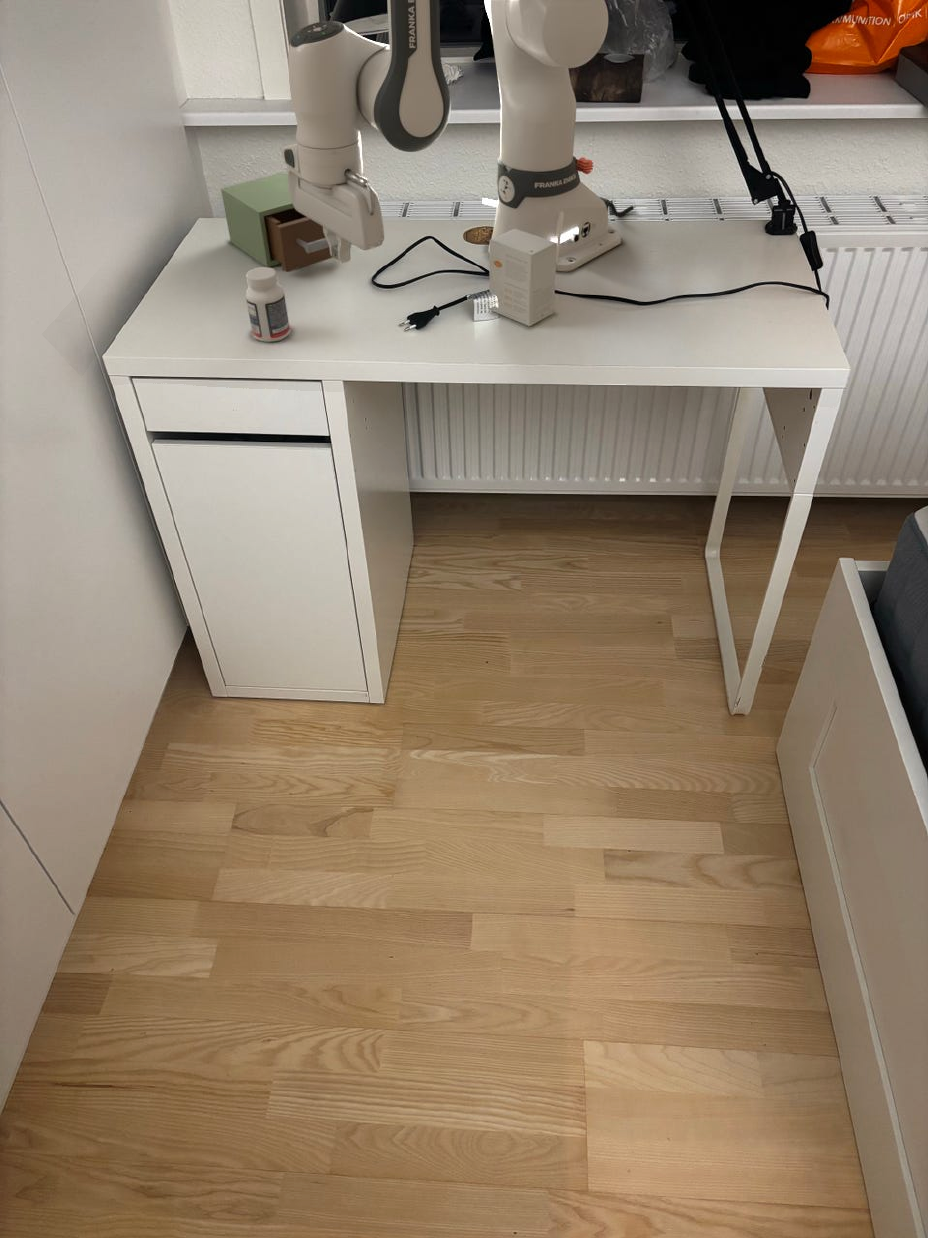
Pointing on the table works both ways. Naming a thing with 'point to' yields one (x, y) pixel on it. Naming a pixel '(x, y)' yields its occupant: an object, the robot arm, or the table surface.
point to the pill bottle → (266, 305)
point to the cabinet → (255, 213)
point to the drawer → (295, 239)
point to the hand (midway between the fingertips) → (340, 258)
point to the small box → (522, 275)
